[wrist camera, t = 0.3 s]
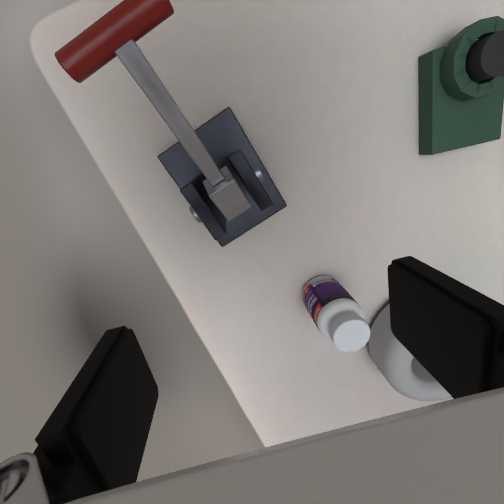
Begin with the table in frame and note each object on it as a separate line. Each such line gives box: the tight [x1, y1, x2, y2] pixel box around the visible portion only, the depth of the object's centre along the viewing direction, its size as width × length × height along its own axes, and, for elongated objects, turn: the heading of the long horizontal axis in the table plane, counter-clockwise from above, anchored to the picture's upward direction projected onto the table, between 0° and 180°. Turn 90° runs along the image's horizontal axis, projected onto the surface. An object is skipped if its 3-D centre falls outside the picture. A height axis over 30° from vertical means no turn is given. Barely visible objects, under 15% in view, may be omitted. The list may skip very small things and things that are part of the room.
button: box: [466, 30, 504, 81], centre depth 26 cm, size 4×4×2 cm
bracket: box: [158, 107, 287, 247], centre depth 26 cm, size 12×9×13 cm
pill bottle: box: [302, 275, 371, 352], centre depth 33 cm, size 5×5×10 cm
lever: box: [55, 0, 251, 221], centre depth 18 cm, size 13×6×2 cm, turn 32°
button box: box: [419, 16, 504, 155], centre depth 29 cm, size 11×8×4 cm
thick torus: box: [368, 304, 452, 401], centre depth 38 cm, size 15×15×7 cm
